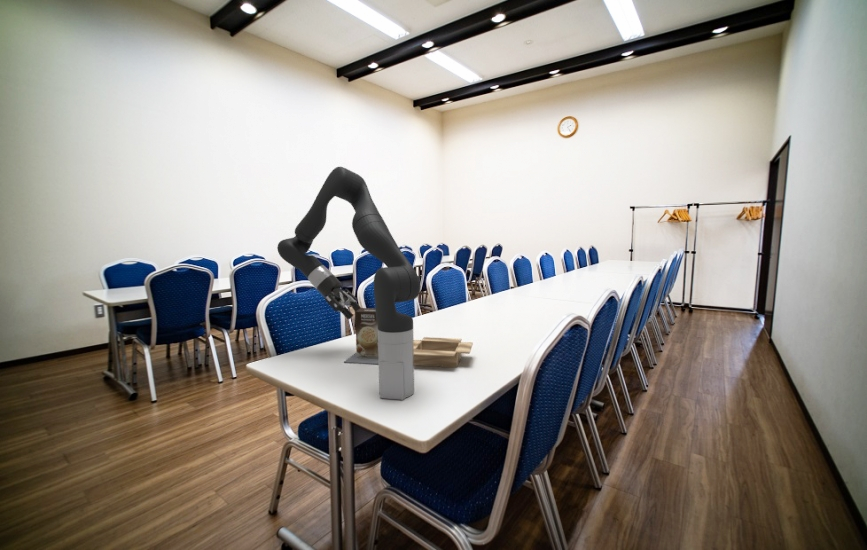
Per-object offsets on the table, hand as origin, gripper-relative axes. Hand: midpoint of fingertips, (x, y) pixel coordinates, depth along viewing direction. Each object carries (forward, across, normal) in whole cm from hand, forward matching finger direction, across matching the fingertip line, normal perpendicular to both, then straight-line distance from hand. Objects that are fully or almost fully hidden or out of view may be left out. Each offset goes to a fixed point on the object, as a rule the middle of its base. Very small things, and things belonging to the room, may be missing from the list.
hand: (356, 315), depth 127 cm
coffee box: (+14, 0, +6) cm, 15 cm away
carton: (+30, 0, -10) cm, 32 cm away
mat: (+14, 0, +6) cm, 15 cm away
